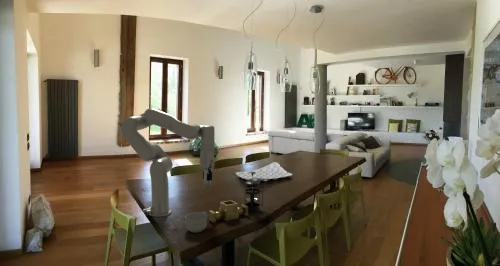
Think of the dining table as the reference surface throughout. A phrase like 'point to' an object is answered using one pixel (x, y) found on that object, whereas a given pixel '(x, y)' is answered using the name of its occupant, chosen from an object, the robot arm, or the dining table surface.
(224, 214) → the valve body
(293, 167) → the dining table surface
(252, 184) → the french press
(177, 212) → the dining table surface
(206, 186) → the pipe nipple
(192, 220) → the teacup
